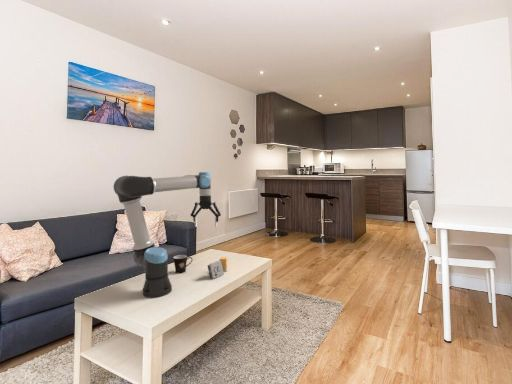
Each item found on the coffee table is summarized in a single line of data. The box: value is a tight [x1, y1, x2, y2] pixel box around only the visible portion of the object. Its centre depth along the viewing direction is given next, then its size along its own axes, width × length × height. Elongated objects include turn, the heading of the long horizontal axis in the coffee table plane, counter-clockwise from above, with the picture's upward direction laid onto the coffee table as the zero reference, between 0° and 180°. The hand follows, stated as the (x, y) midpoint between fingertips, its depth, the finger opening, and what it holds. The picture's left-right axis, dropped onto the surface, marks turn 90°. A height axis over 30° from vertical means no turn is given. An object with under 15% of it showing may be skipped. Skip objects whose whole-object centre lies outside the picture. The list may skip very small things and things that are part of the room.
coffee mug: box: [173, 254, 193, 274], centre depth 187 cm, size 12×9×10 cm
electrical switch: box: [207, 260, 225, 280], centre depth 178 cm, size 9×5×9 cm, turn 141°
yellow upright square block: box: [218, 256, 229, 271], centre depth 187 cm, size 4×4×7 cm
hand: (206, 226), depth 191 cm, fingers open, 13 cm apart
